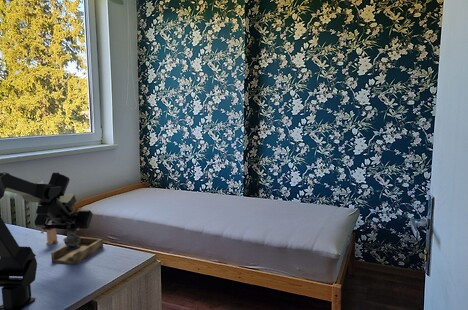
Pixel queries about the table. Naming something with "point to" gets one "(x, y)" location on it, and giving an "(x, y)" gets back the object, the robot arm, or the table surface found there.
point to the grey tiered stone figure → (71, 239)
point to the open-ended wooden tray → (77, 251)
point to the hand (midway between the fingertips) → (73, 229)
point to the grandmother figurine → (50, 235)
